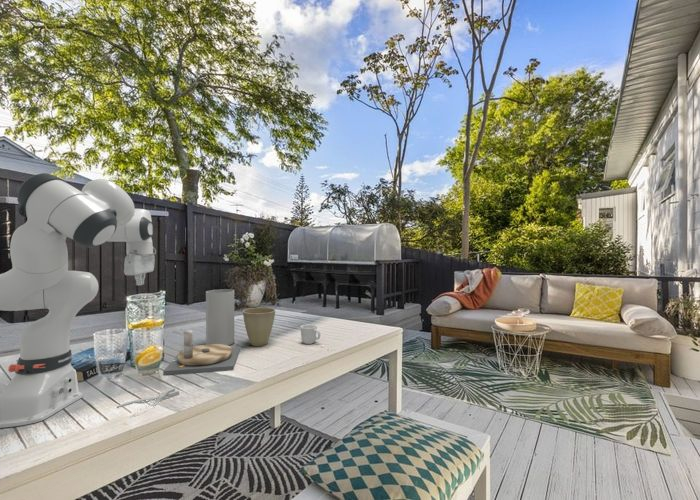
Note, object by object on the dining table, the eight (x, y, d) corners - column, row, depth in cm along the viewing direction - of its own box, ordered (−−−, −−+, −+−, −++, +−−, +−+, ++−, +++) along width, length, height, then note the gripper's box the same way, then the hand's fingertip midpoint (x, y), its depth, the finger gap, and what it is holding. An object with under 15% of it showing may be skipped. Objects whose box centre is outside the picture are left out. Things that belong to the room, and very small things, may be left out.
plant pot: (264, 350, 150) (263, 314, 149) (236, 346, 155) (236, 312, 154) (281, 340, 164) (281, 308, 164) (255, 338, 169) (255, 306, 168)
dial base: (233, 369, 126) (233, 365, 126) (163, 375, 121) (163, 370, 121) (239, 350, 150) (239, 346, 150) (181, 353, 144) (181, 349, 144)
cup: (325, 342, 161) (325, 326, 161) (314, 347, 154) (314, 329, 154) (307, 339, 167) (307, 323, 167) (296, 343, 160) (296, 326, 160)
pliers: (116, 403, 97) (169, 385, 110) (116, 408, 97) (169, 390, 110) (131, 413, 92) (185, 393, 104) (131, 418, 92) (185, 398, 104)
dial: (208, 346, 149) (208, 319, 148) (242, 352, 140) (242, 324, 140) (166, 360, 131) (165, 329, 130) (202, 368, 122) (202, 335, 122)
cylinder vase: (221, 338, 168) (221, 288, 167) (240, 341, 162) (239, 290, 162) (200, 345, 156) (199, 292, 156) (219, 349, 151) (219, 293, 150)
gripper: (137, 250, 124) (138, 288, 124) (157, 249, 144) (157, 282, 144) (118, 250, 122) (119, 288, 122) (141, 249, 142) (141, 282, 142)
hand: (140, 285), depth 133 cm, fingers closed
